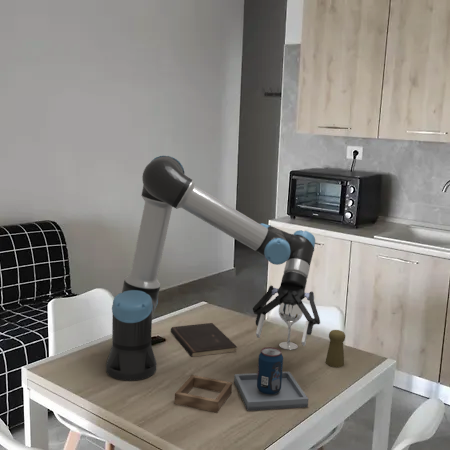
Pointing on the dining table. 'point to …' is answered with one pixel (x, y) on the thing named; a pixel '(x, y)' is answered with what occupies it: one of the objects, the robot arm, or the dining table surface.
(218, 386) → the can holder
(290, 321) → the wineglass
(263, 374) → the soda can
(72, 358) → the dining table surface
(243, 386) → the tray
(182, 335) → the hardcover book
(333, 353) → the cork
